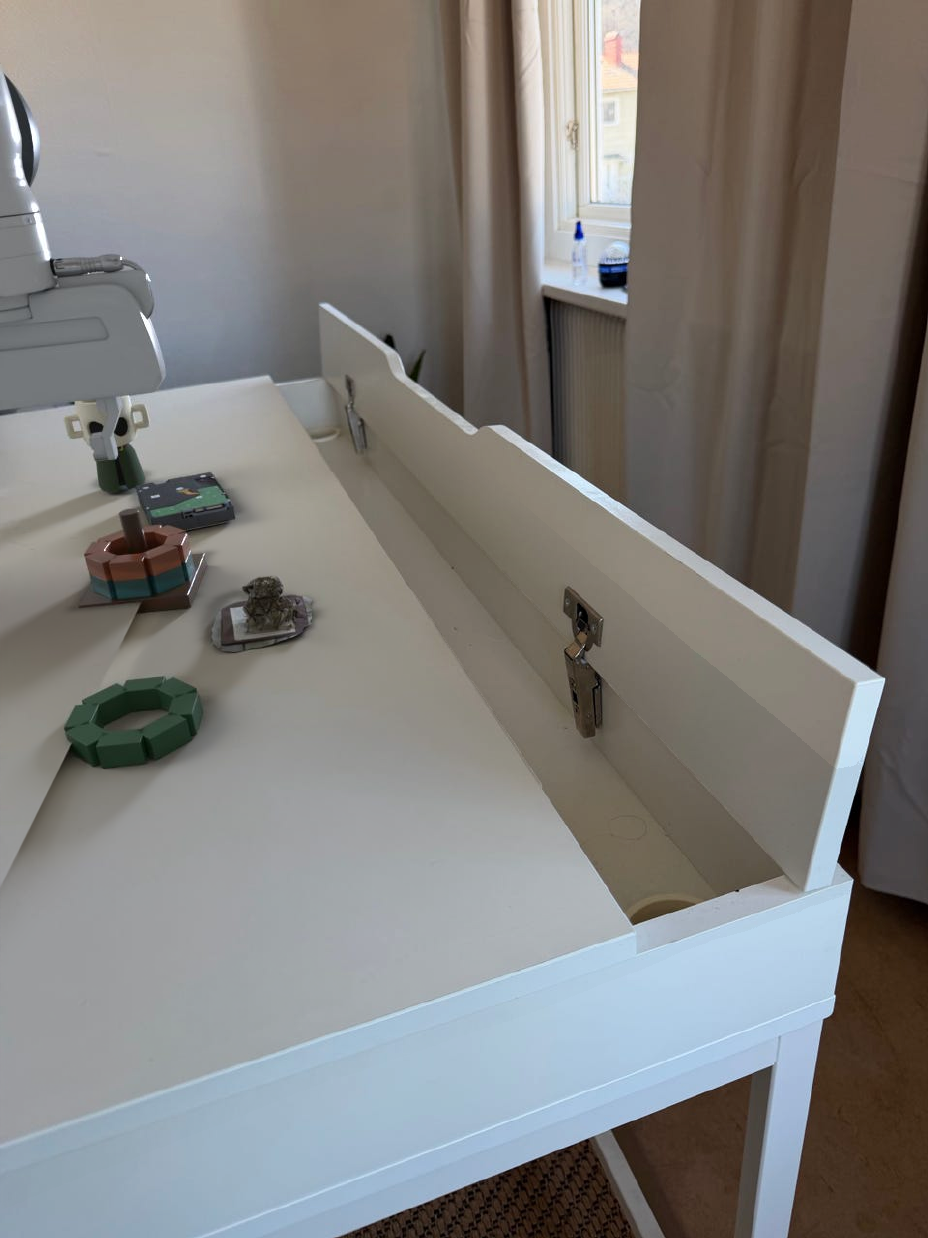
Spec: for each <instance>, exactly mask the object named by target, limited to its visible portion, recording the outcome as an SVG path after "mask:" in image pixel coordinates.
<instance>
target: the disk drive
mask: <svg viewBox="0 0 928 1238" xmlns="http://www.w3.org/2000/svg"><path fill="white" fill-rule="evenodd" d="M135 490H136V494H137V498H138V502H139V505H140V507H141V509H142V511H144V512H143V514H144V516H145V518H146V521H147V523H148V526H153V525H162V527H164V526H166V525H169V526H172V527H175V528H178V529H181V530H185V532H186V531H189V530H194V529H201V528H205V527H210V526H215V525H220V524H225V523H229V522H231V521H235V520H236V514H235V508H234V505H233V503H232V501H231V497H230V496H229V495H228V493H227V492H226V490H225V489H224V488H223V486H222V484H221V483H220V482H219V480H218V479H217V477H216V475H215V474H214V473H213V472H212V471H206V472H201V473H197V474H192V475H186V476H179V477H174V478H169V479H168V480H166V481H164V482H161V483H154V482H153V481H152V482H147V483H144V484H141V485H136V488H135Z"/></svg>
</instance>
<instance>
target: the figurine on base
mask: <svg viewBox="0 0 928 1238" xmlns="http://www.w3.org/2000/svg"><path fill="white" fill-rule="evenodd" d="M241 590H242V591H243V592H244V593H245V595H247V599H243V600H239V601H235V602H232V603H231V604H229V605H226V606H224V607H223V608H221V610H220V611H218V613H217V614H216V615H215V619H214V621H213V626H212V627H211V632H212V634H211V637H210V638H211V640H212V643H211V644H212V645H214V646H216V647H217V648H218V650H219V651H222V652H223V651H224V652H231V653H236V652H237V653H238V652H243V651H247V650H251V649H259V648H264V647H267V646H268V647H269V646H271V645H275V644H276V643H277V644H278V643H279V642H282V641H285V640H288V639H291V638H293V637H296V636H298V635H300V634H302V633H303V630H304V629H305V628H306V627H309V626H311V625H312V622H311V620H312V619H313V616H312V614H313V613H314V611H313V608H312V605H311V604H312V602H313V601H314V599H312V598H310V597H307V596H305V595H297V594H293V593H291V594H290V593H289V594H283V593H284V590H285V588H284V582H283V581H282V580H281V578H280V577H278V576H276V575H267V576H256V577H254V578H253V579H251V580H250V581H249V582H247V583H246V584H244V585H243V586H242V587H241ZM282 594H283V595H282Z"/></svg>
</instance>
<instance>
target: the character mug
mask: <svg viewBox="0 0 928 1238" xmlns="http://www.w3.org/2000/svg"><path fill="white" fill-rule="evenodd" d="M121 400H122V404H123V406H122V409H121V412H120V415H119V418H118V421H117V424H116V427H115V430H114V432H113V433H114V437H115V441H116V445H117V449H118V456H117V458H116V459H114V460H106V461H97V462H96V461H95V464H96V474H97V475H96V476H97V482H98V487H99V488H100V490H101V491H102V492H103V491H104V492H108V493H113V492H115V493H116V492H121V490H122V489H121V487H123V486H125V487H126V490H128V491H129V490H132V489H136V485H141V484H145V482H146V475H145V473H144V470H143V467H142V464H141V462H140V459H139V457H138V454H137V452H136V450H135V448H134V447H133V445H132V444H130V443H131V442H134V441H135V440H136V439H137V438H138V432H139V431H138V430H140V429H141V430H142V429H147V428H149V427H150V426H151V420H150V415H149V412H148V407H147V405H146V404H145V403H141V404H132V401H131V396H130V395H127V396H121ZM74 407H75V411H76V413H71V414H67V415H65V416H63V424H64V427H65V430H66V435H67V437H68V438H69V439H71V440H78V439H82V438H83V441H84V442H85V443H86V445H87V446H88V447H90V448H91V446H90V442H89V439H90V437H92V436H91V435H92V434H93V433H98V432H102V431H103V427H104V424H105V421H106V418H107V415H108V412H107V413H105V414H100V413H99V411H98V408H97V404H96V400H95V399H93V400H84V401H75V402H74ZM138 412H139V413H140V417H141V420H140V421H136V418H135V414H134V413H138ZM74 422H79V426H80V429H81V430H76V431H75V429H74V424H73V423H74Z"/></svg>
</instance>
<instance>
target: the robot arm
mask: <svg viewBox="0 0 928 1238" xmlns="http://www.w3.org/2000/svg"><path fill="white" fill-rule="evenodd" d="M40 158H41V137H40V133H39V129H38V125H37V122H36V120H35V117H34V115H33V112H32V111H31V108H30V106H29V105H28V103H27V101H26V100H25V98H24V96H23V95H22V94H21V92H20V90H19V89H18V88H17V86H16V85H15V84H14V83H13V82H12V80H11V79H10V78H9V77H8V76H7V74H5V73H4V70H3V67H2V64H1V63H0V411H6V410H14V409H24V408H31V407H38V406H39V407H40V406H49V405H56V404H57V405H58V404H65V403H66V404H67V403H75V401H84V400H93V399H95V400H96V404H97V408H98V411H99V413H100V414H105V413H107V412H108V415H107V418H106V421H105V424H104V427H103V431H102V432H98V433H93V434H92V435H91V436H92V437H90V439H89V442H90V446H91V447H90V446H89V447H90V449H91V450H92V451H93V453H92V457H93V460H94V461H95V463H96V462H97V461H106V460H114V459H116V458H117V456H118V449H117V445H116V441H115V437H114V433H113V432H114V430H115V427H116V424H117V421H118V418H119V415H120V412H121V409H122V406H123V404H122V400H121V396H127V395H129V396H135V395H143V394H151V393H154V392H156V391H157V390H158V389H159V387H160V386H162V385H161V384H162V383H163V381H164V380H165V377H166V375H167V374H166V373H167V369H166V364H165V359H164V356H163V355H164V354H163V352H162V349H161V346H160V345H161V344H160V342H159V339H158V336H157V333H156V331H155V328H154V325H153V322H152V319H151V316H152V314H153V312H154V309H155V298H154V293H153V290H152V289H153V288H152V285H151V280H150V278H149V275H148V274H147V272H146V271H145V269H144V268H143V267H142V266H141V265H139V264H138V263H137V262H135V261H132V260H131V259H126V258H123V256H122V255H121V254H119V253H118V254H117V253H106V254H100V256H91V257H88V256H87V257H83V256H82V257H81V256H75V257H74V256H73V257H64V258H63V257H62V258H60V257H59V258H53V255H52V252H51V248H50V243H49V239H48V236H47V232H46V228H45V224H44V219H43V216H42V214H41V208H40V205H39V203H38V200H37V198H36V197H35V194H34V193H33V192H32V189H31V187H32V185H33V183H34V181H35V179H36V177H37V173H38V171H39V169H38V168H39V165H40V160H41V159H40ZM125 267H129V268H131V269H124V268H125Z"/></svg>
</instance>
